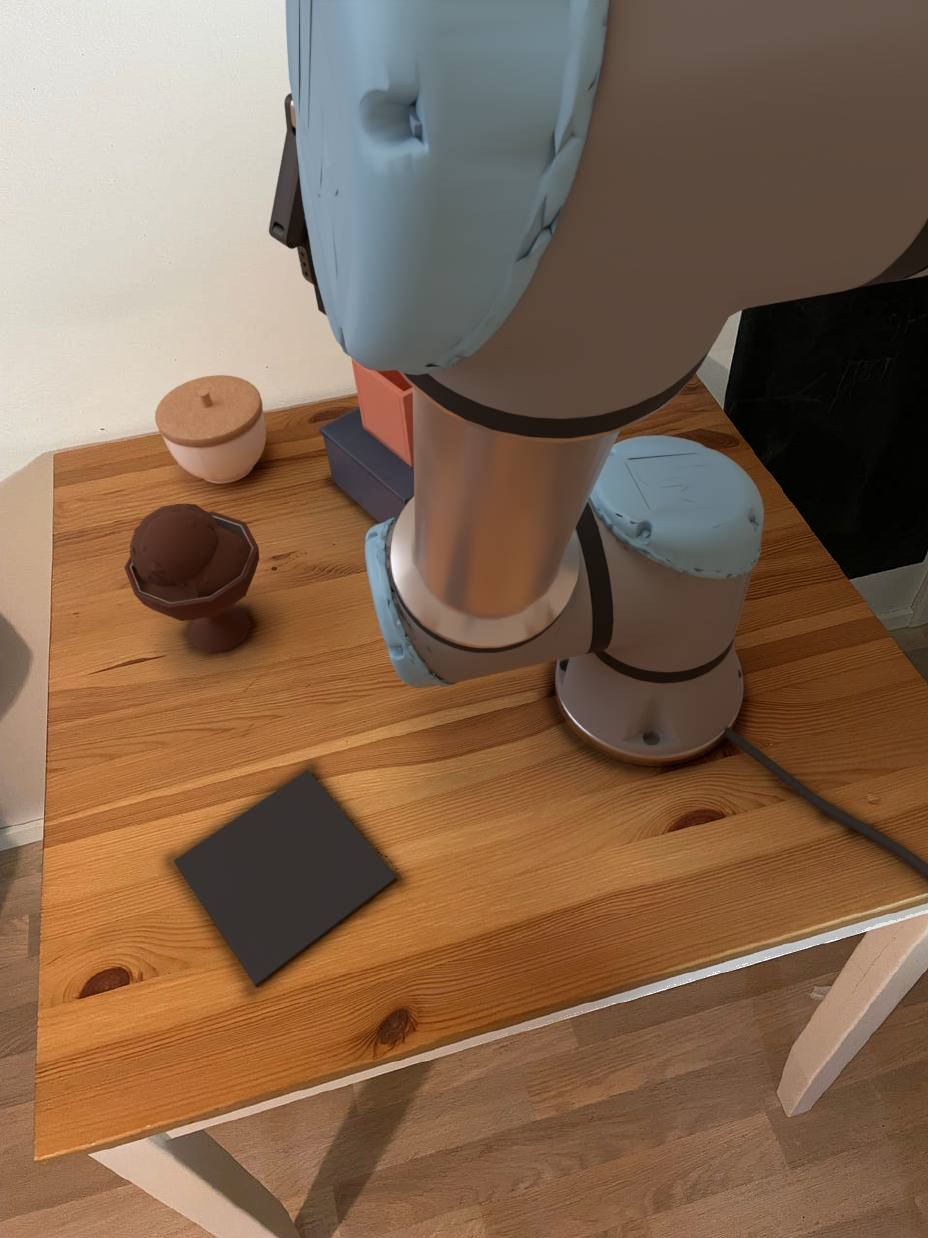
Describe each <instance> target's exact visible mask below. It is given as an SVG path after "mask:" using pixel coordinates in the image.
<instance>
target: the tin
mask: <svg viewBox="0 0 928 1238" xmlns="http://www.w3.org/2000/svg"><path fill="white" fill-rule="evenodd" d="M318 432H319V433H320V434H321V435H322V437H323V443H324V447H325V452H326V456H327V461H328V467H329V471H330V475H331V479H332V482H333V483H334V484H335V485H336V486H338V488H340V489H341V490H342V491H343V492H344V493H345V494H346V495H348V496H349V497H350V498H351V499H352V500H353V501H354V502H356V503H357V504H358V505H359V506H360V507H361V508H362V509H363V510H365V512H367V513H368V514H369V515H370V516H371V517H373V519H375V520H376V521H377V522H378V524H380V523H383V522H386V521H387V520H388V519H392V518H393V517H394V518H396V517H399V516H400V514H401V512H402V511H403V509H404V508H405V506H406V505H407V503H408V502H409V501H410V500H411V499H412V498H413V496H414V466H413V467H411V466H409V465H408V464H407V463H406V462H404V461H403V460H402V459H401V458H399V457H398V456H397V455H396V454H394V453H393V452H392V451H391V450H389V449H388V448H387V447H386V446H385V445H383V444H382V443H381V442H380V441H378V440H377V439H376V438H375V437H373V436H372V435H371V434H370V433H368V432H367V431H366V430H365V429H364V428H363V424H362V418H361V412H360V406H359V405H358V406H357V407H356V408H354V409H352V410H350V411H347V412H346V413H344V414H342V415H340V416H338V417H336V418H334V419H332V420H330V421H328V422H327V423H325V424H322V425H321V426H319V427H318Z"/></svg>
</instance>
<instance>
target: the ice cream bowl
mask: <svg viewBox="0 0 928 1238" xmlns="http://www.w3.org/2000/svg"><path fill="white" fill-rule="evenodd" d="M129 548H130V549H129V554H130V556H129V558H128V560H127V561H126V563H125V565H124V567H123V568H124V571H125V573H126V576H127V579H128V581H129V584H130V586H131V590H132V592H133V594H134V596H135V597H136V598H137V599H138V600H139V601H140V603H141V604H142V605H144V606H145V607H147V608H148V609H151V610H152V611H154V612H157V613H160V614H162V615H164V616H167V617H170V618H172V619H175V620H177V621H180V622H186V621H193V622H192V624H191V627H190V629H189V636H190V638H191V640H192V643H193V645H194V647H195V648H197V649H199V650H202V651H204V652H207V653H210V654H214V653H220V652H227V651H231V650H232V649H234V648H235V647H237V646H238V645H239V644H241V643H242V642H243V641H245V640H246V639H247V636H248V633H249V631H250V629H251V626H252V624H251V623H252V622H251V621H250V619H249V617H248V615H247V613H246V611H244V609H243V608H240V607H238V606H235V604H236V603H238V602H239V601H240V600H242V599H244V598H245V597H246V596H247V595H248V594H247V593H248V592H249V589H250V586H251V584H252V581H253V578H254V576H255V574H256V571H257V567H258V565H259V562H260V549H259V545H258V543H257V542H256V540H255V538H254V535H253V534H252V532H251V530H250V528H249V526H248V524H247V522H246V521H242V520H240V519H237V518H234V517H231V516H229V515H228V516H227V515H225V514H222V513H219V512H216V511H207V510H205V509H204V508H201V507H200V506H199V505H197V504H195V503H175V504H174V503H173V504H169V505H163V506H162V505H161V506H160V507H159V508H157V509H156V510H154V511H152V512H150V513H149V514H147V515H146V516H145V517H144V518H143V519H142V520H141V521H140V523H139V524H138V526H136V528H135V529H134V530H133V535H132V537H131V540H130V545H129Z"/></svg>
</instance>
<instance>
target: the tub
mask: <svg viewBox="0 0 928 1238" xmlns="http://www.w3.org/2000/svg"><path fill="white" fill-rule="evenodd" d="M351 366H352V372H353V376H354V383H355V389H356V394H357V395H356V396H357V400H358V407H359V406H360V412H361V418H362V424H363V428H364V429H365V430H366V431H367V432H368V433H370V434H371V435H372V436H373V437H375V438H376V439H377V440H378V441H380V442H381V443H382V444H383V445H385V446H386V447H387V448H388V449H389V450H391V451H392V452H393V453H394V454H396V455H397V456H398V457H399V458H401V459H402V460H403V461H404V462H406V463H407V464H408V465H409V466H411V467H413V466H414V442H413V387H412V386H411V385H410V384H409V383H408V382H407V381H406V380H405V379H404V377H403V376H402V375H401V374H400V373H399V371H397V370H389V371H376V370H370V369H367V368H364V367H362V366H361V365H360V364H358V363H357V362H356V361H355V360H354V359H352V358H351Z"/></svg>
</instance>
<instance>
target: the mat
mask: <svg viewBox="0 0 928 1238" xmlns="http://www.w3.org/2000/svg"><path fill="white" fill-rule="evenodd" d="M173 863H174V864H175V865H176V867H177V868H178V870H179V871H180V873H181V874H182V876H183V877H184V879H185V881H186V882H187V884H188V885H189V886H190V888H191V889H192V891H193V893H194V894H195V896H196V897H197V899H198V900H199V902H200V903H201V905H202V907H203V908H204V909H205V911H206V913H207V914H208V916H209V917H210V919H211V921H212V922H213V923H214V925H215V926H216V928H217V929H218V931H219V932H220V934H221V935H222V937H223V938H224V941H225V942H226V943H227V944H228V946H229V948H230V950H231V951H232V952H233V954H234V955H235V957H236V959H237V960H238V962H239V963H240V964H241V966H242V969H244V971H245V973H246V974H247V975H248V977H249V978H250V980H251V982H252V983H253V985H254V987H259V986H260V985H261V984H262V983H264V982H265V981H266V980H267V979H269V978H271V976H273V975H274V974H276V972H278V971H279V970H281V969H282V968H283V967H285V966H286V965H287V964H288V963H290V962H291V961H293V960H294V959H295V958H296V957H297V956H299V955H300V954H301V953H303V952H304V951H306V950H307V949H308V948H309V947H311V946H312V945H313V944H314V943H316V942H317V941H319V940H320V939H321V938H322V937H324V936H325V935H327V934H328V933H329V932H330V931H332V930H333V929H334V928H335V927H337V926H338V925H339V924H341V923H342V922H343V921H345V920H346V919H347V918H349V917H350V916H351V915H352V914H354V913H355V912H356V911H358V910H359V909H360V908H361V907H363V906H365V905H366V904H367V903H368V902H369V901H371V900H372V899H373V898H375V897H376V896H377V895H379V894H380V893H381V892H382V891H384V890H385V889H387V888H388V887H389V886H390V885H392V884H393V883H394V882H396V881H397V880H398V879H397V876H396V874H395V873H394V872H393V871H392V870H391V868H389V866H388V865H387V863H386V862H385V861H384V860H383V859H382V857H381V856H380V855H379V854H378V852H377V851H376V850H375V849H374V848H373V847H372V845H371V844H370V843H369V841H368V840H367V839H366V838H365V837H364V836H363V835H362V834H361V832H360V831H359V829H358V828H357V826H355V824H354V823H353V822H352V821H351V820H350V819H349V818H348V816H347V815H346V814H345V813H344V812H343V810H342V809H341V808H340V806H339V805H338V804H337V802H335V800H334V799H333V798H332V797H331V796H330V794H329V793H328V792H327V790H325V788H324V787H323V786H322V784H321V783H320V782H319V781H318V780H317V778H316V777H315V776H314V775H313V773H312V772H311V771H310V770H309V769H306V770H304V771H303V772H302V773H300V774H299V775H297V776H296V777H294V778H293V779H291V780H290V781H289V782H287V783H285V784H284V785H283V786H281V787H280V788H278V789H277V790H275V791H273V792H272V793H271V794H269V795H268V796H266V797H265V798H263V799H262V800H261V801H259V802H257V803H256V804H254V805H253V806H252V807H250V808H249V809H247V810H246V811H244V812H242V814H240V815H238V816H237V817H235V818H234V819H233V820H231V821H230V822H228V823H226V824H225V825H223V826H222V827H220V828H219V829H218V830H216V831H214V832H213V833H212V834H211V835H209V836H208V837H206V838H205V839H203V840H202V841H200V842H199V843H196V845H194V846H192V847H191V848H189V849H188V850H187V851H185V852H184V853H182V854H181V855H179V856H178V857H176V858H175V859H174V860H173Z"/></svg>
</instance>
